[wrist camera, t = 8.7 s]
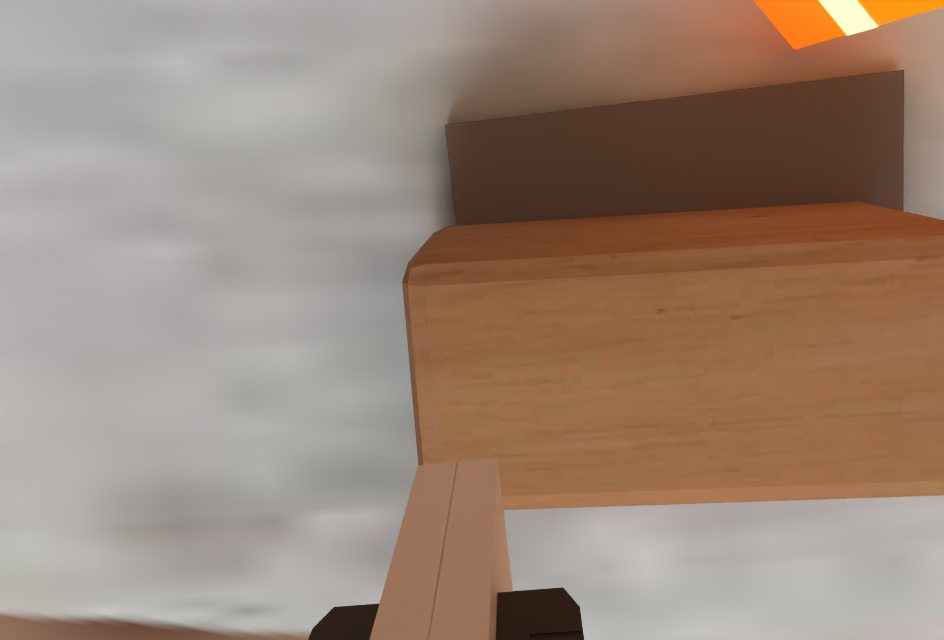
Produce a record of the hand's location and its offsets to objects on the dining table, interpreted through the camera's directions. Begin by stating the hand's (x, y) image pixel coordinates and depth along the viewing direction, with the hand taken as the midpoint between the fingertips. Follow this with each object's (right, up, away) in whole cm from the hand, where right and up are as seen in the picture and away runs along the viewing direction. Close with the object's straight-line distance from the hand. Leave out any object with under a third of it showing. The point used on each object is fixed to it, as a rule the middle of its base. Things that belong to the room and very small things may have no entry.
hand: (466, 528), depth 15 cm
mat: (+10, +6, +23) cm, 26 cm away
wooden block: (-2, +2, +19) cm, 19 cm away
